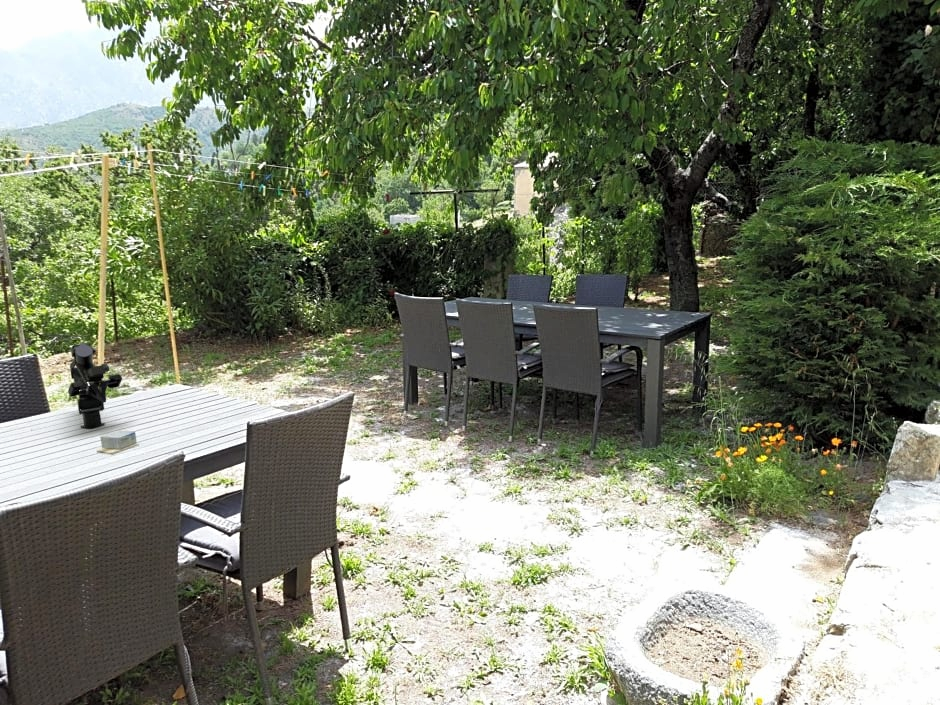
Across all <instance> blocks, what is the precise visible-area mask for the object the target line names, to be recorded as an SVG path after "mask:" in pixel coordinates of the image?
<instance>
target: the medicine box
mask: <svg viewBox="0 0 940 705" xmlns="http://www.w3.org/2000/svg"><path fill="white" fill-rule="evenodd" d="M134 443H137V435H136V431H132V430H120V429H119V430H118V429H116V430H114V431H111V432H108V433H106V434H104V435H102V436H100V444H101V449H102V448H110V449H122V448H125V447H127V446H130V445H132V444H134Z"/></svg>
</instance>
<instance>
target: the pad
mask: <svg viewBox="0 0 940 705" xmlns="http://www.w3.org/2000/svg"><path fill="white" fill-rule="evenodd" d="M138 446H140V444H139V442H138V443H137V442H136V443H134V444H132V445H130V446H127V447H125V448H122V449H110V448H102V447H101V448H100V449H97V450H96V453H99V452H100V454H105V453H106V455H111V456H112V455H116V454H118V453H120V452H124V451H127V450H129V449H132V448H135V447H138ZM126 449H127V450H126Z"/></svg>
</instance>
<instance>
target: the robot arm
mask: <svg viewBox="0 0 940 705" xmlns="http://www.w3.org/2000/svg"><path fill="white" fill-rule="evenodd" d="M70 354H71V357H72V358H73V359H72V361H71V363H70V364H69V369H70V370H69V371H70V376H71V380H73V382H71V383H70V384H69V386H68V390H67V393H68V395H69V396H70V397H77V396H78V399H77V400H76V401H77V410H78V414H79V415H82V421H83V425H80V428H82V427H83V428H84V429H95V428H98V427H101V425H102V426H104V424H106V423H104V422H102V418H101V417H102V416H101V412H103V411H104V410H105V406H104V405H105V403H106V402H107V393H106V391H107V389H108V388H109V389H116V388H119V387H120V385H121V383H122V381H123V377H122V375H121V374H120V373H115V374H110V375H109V376H108V379H104V377H105V375H106V373H108V372H109V371H110V366H109V365H108V363H106V362H105V363H101V364H100V365H98V366H97V365H96V366H95V365H94V362H93V360H94V357H93V356H94V355H95V354H96V349H95V348H94V346H93V345H91V344H90V342H89V343H86V342H79V344H73V345H72V347H70ZM83 428H82V429H83Z"/></svg>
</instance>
